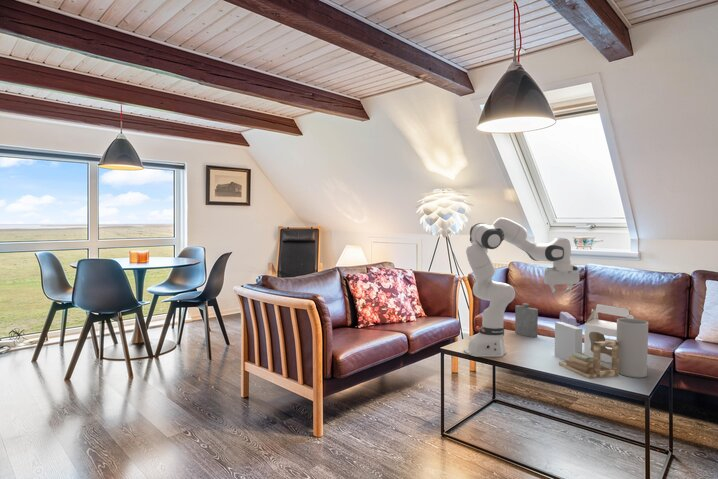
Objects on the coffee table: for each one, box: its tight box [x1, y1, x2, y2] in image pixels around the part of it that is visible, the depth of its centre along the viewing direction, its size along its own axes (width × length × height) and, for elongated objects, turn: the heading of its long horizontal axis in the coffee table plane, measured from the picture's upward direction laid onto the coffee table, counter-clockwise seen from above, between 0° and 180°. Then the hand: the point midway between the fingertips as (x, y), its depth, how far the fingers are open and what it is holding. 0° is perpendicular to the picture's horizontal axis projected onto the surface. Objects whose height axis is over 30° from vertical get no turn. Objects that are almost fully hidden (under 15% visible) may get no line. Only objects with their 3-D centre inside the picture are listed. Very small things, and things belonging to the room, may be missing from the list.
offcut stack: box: [566, 351, 594, 374], centre depth 210 cm, size 6×13×7 cm, turn 12°
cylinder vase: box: [616, 317, 649, 379], centre depth 207 cm, size 12×12×25 cm
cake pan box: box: [558, 311, 577, 327], centre depth 257 cm, size 19×5×18 cm, turn 170°
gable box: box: [583, 303, 635, 364], centre depth 229 cm, size 22×13×28 cm, turn 32°
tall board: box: [554, 321, 583, 361], centre depth 229 cm, size 4×16×18 cm, turn 12°
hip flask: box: [514, 302, 539, 338], centre depth 280 cm, size 16×4×20 cm, turn 32°
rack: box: [558, 340, 619, 379], centre depth 213 cm, size 16×20×16 cm
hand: (561, 292), depth 244 cm, fingers open, 8 cm apart
